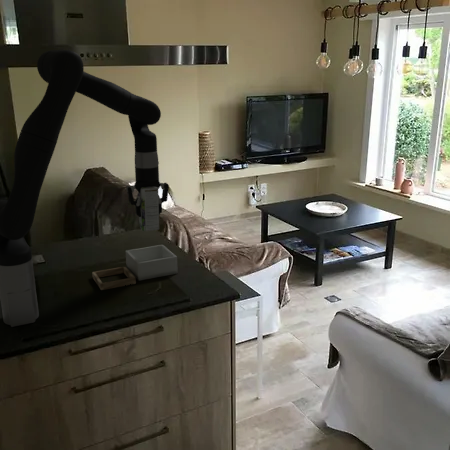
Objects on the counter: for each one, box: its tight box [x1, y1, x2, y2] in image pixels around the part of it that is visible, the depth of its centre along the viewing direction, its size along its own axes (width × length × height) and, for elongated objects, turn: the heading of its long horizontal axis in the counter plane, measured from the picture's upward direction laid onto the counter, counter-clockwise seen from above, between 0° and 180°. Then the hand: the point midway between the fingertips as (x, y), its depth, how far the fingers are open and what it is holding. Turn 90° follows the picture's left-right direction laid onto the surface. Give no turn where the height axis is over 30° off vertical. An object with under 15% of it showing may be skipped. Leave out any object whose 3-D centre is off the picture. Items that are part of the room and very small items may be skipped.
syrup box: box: [138, 187, 160, 232], centre depth 171 cm, size 6×6×14 cm
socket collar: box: [91, 265, 137, 291], centre depth 169 cm, size 11×11×2 cm
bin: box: [125, 244, 179, 281], centre depth 177 cm, size 14×14×6 cm
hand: (148, 215), depth 172 cm, fingers closed on syrup box, 6 cm apart
